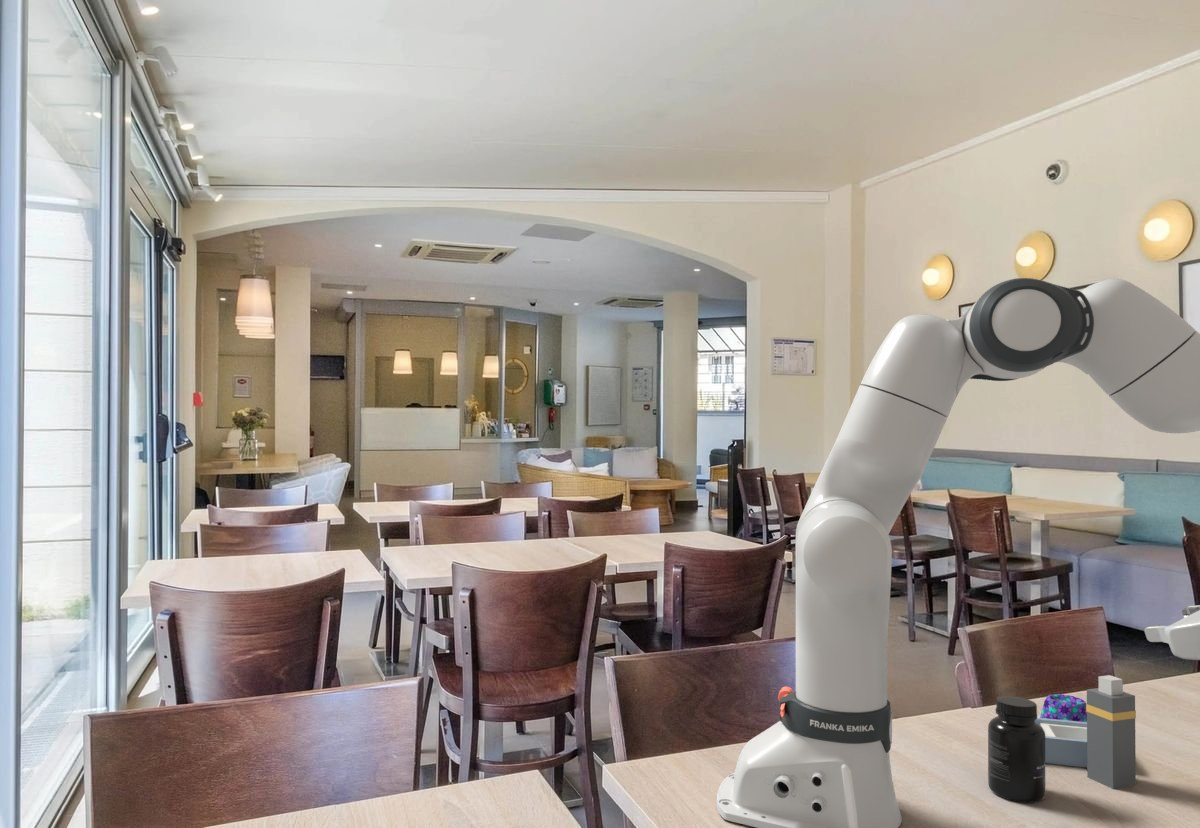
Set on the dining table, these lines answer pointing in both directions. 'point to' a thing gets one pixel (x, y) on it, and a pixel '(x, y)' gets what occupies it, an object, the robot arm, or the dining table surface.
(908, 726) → the dining table surface
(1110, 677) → the grey bottle
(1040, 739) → the supplement bottle
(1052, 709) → the pudding
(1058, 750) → the walled box
